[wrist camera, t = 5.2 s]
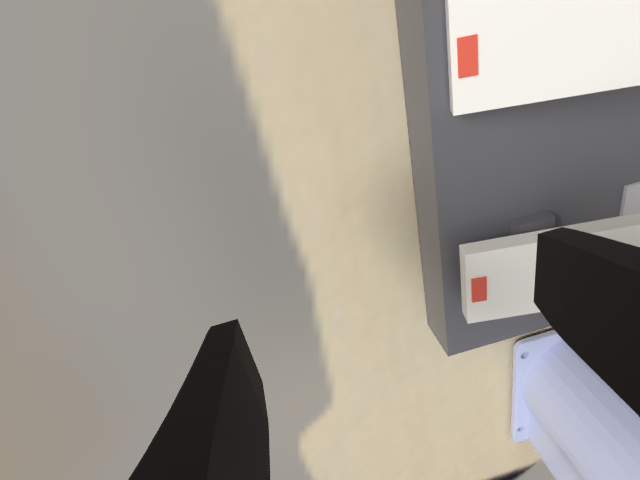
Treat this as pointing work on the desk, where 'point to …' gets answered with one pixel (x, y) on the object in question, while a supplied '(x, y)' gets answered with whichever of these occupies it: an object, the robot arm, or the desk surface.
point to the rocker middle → (538, 50)
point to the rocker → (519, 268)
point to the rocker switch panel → (503, 171)
